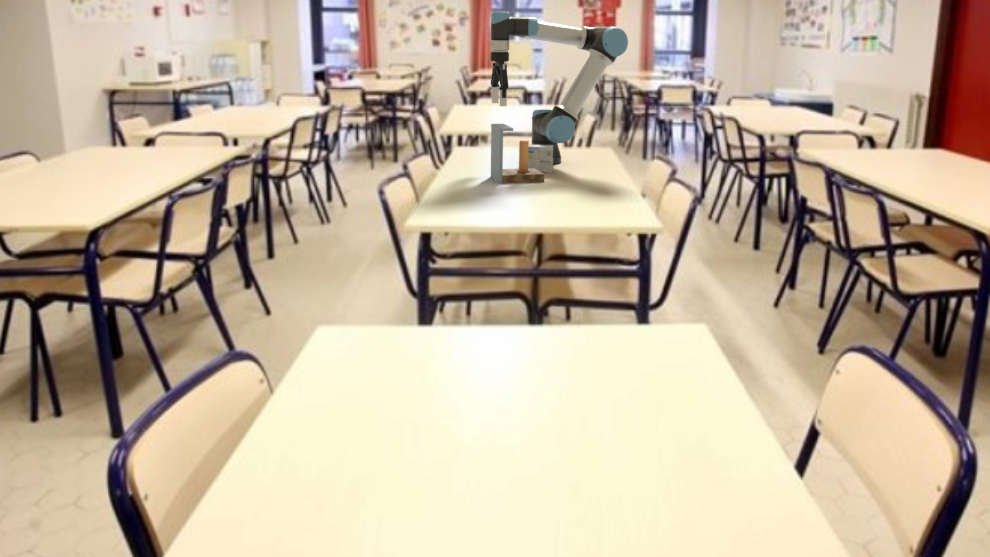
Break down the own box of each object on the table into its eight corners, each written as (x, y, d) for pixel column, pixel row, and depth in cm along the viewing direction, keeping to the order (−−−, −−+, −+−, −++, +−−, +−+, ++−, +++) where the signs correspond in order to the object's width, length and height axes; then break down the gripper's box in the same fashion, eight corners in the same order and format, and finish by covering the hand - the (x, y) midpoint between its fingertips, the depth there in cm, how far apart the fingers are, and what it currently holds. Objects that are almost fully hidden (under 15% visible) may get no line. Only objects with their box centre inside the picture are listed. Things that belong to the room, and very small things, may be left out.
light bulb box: (552, 170, 351) (553, 144, 348) (552, 172, 344) (553, 146, 341) (527, 169, 352) (528, 143, 349) (526, 172, 345) (527, 146, 342)
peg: (517, 178, 331) (518, 140, 326) (526, 178, 332) (527, 140, 327) (520, 180, 328) (520, 141, 323) (528, 179, 328) (529, 141, 324)
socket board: (534, 175, 338) (534, 168, 337) (544, 181, 325) (544, 174, 324) (493, 176, 334) (493, 169, 333) (502, 183, 321) (502, 175, 320)
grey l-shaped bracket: (502, 176, 335) (503, 123, 329) (512, 183, 321) (513, 128, 315) (490, 176, 334) (491, 123, 328) (499, 183, 320) (500, 128, 314)
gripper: (483, 50, 348) (483, 101, 355) (498, 52, 325) (497, 107, 331) (501, 50, 350) (500, 101, 356) (516, 52, 327) (515, 107, 333)
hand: (499, 104), depth 344 cm, fingers open, 13 cm apart
